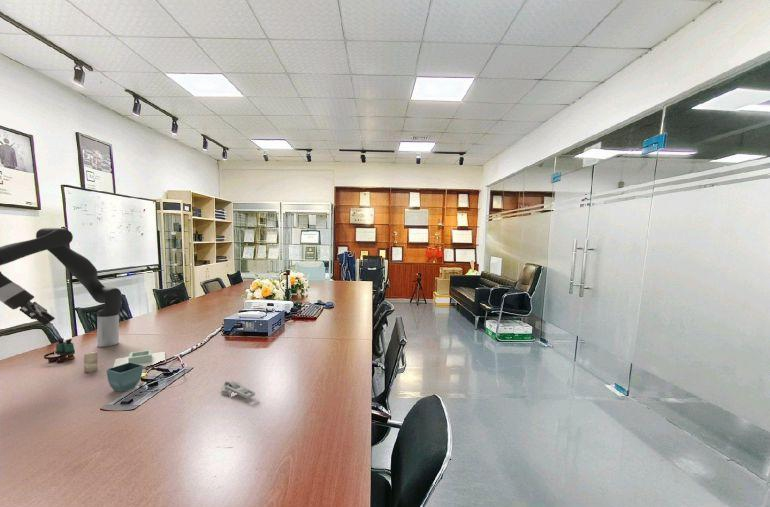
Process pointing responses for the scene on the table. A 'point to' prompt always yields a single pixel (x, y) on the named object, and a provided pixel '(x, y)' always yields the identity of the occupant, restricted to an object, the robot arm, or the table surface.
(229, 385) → the zipper pull
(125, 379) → the flower pot
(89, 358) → the beige upright block
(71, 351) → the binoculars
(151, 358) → the holder
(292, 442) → the table surface
